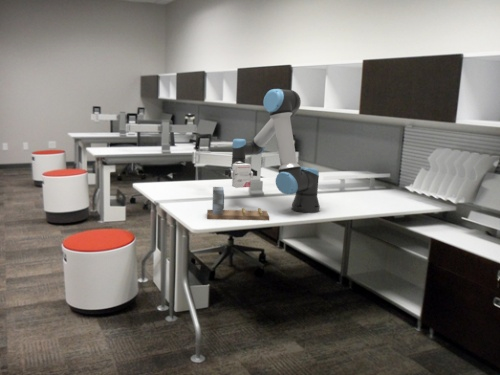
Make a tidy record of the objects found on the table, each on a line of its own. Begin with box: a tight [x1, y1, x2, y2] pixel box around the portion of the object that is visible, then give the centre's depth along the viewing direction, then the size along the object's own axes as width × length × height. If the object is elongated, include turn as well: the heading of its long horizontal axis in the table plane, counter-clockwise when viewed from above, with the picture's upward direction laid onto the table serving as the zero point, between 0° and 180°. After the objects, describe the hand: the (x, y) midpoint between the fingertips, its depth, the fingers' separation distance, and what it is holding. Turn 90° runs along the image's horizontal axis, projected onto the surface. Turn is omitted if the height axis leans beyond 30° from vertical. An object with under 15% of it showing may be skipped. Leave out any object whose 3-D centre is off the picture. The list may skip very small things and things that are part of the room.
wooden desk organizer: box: [206, 186, 270, 221], centre depth 234 cm, size 30×11×14 cm, turn 95°
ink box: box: [231, 163, 252, 189], centre depth 243 cm, size 9×5×12 cm, turn 118°
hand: (242, 175), depth 239 cm, fingers closed on ink box, 9 cm apart
